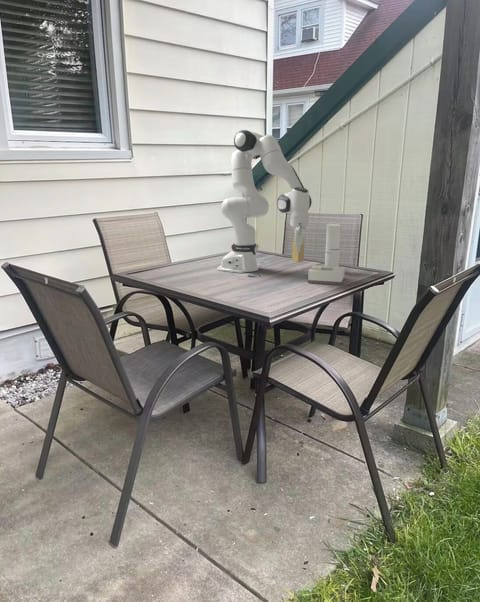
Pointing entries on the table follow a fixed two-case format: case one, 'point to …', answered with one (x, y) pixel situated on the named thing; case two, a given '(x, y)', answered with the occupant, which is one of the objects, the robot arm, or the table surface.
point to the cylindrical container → (332, 245)
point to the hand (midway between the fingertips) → (298, 250)
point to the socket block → (326, 275)
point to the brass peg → (297, 255)
